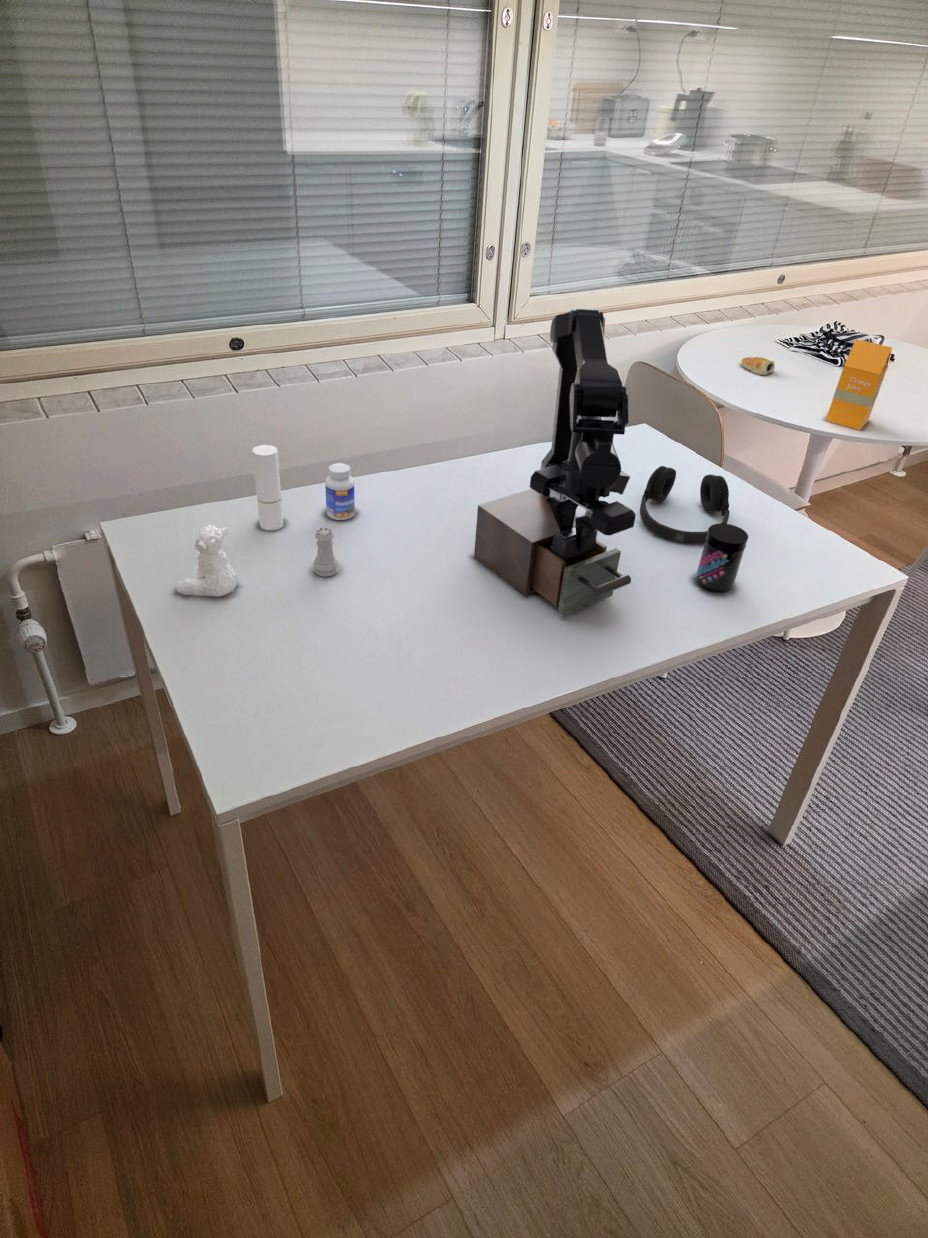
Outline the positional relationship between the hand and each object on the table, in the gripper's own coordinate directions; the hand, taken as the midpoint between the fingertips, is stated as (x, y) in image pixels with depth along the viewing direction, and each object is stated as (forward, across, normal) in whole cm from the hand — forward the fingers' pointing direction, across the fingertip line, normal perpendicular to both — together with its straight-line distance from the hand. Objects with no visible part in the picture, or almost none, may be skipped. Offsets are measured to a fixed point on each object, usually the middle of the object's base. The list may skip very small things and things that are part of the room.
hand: (573, 544), depth 136 cm
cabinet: (+10, +10, 0) cm, 14 cm away
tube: (+10, +46, +32) cm, 57 cm away
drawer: (+9, -1, 0) cm, 9 cm away
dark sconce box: (+1, 0, 0) cm, 1 cm away
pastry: (+10, +56, -126) cm, 138 cm away
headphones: (+10, +7, -38) cm, 40 cm away
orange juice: (+10, +20, -116) cm, 118 cm away
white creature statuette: (+10, +32, +49) cm, 60 cm away
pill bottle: (+10, +43, +19) cm, 48 cm away
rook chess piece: (+10, +28, +31) cm, 43 cm away
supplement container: (+10, -12, -25) cm, 29 cm away
